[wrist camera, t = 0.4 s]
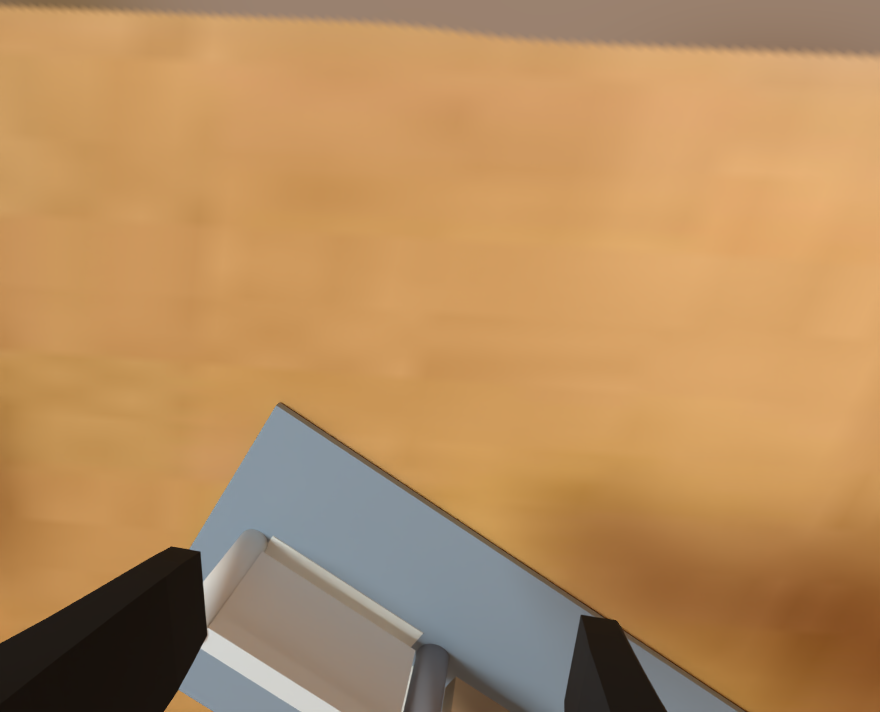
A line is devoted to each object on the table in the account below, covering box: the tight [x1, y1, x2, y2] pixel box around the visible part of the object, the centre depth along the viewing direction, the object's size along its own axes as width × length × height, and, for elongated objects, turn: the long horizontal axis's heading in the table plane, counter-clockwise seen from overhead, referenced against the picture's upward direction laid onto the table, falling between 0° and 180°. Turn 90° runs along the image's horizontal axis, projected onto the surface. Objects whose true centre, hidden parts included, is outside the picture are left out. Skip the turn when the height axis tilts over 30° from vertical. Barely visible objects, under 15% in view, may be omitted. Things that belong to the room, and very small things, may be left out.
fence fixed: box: [200, 529, 449, 712], centre depth 20 cm, size 1×10×5 cm, turn 56°
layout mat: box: [178, 402, 745, 712], centre depth 24 cm, size 16×23×1 cm
